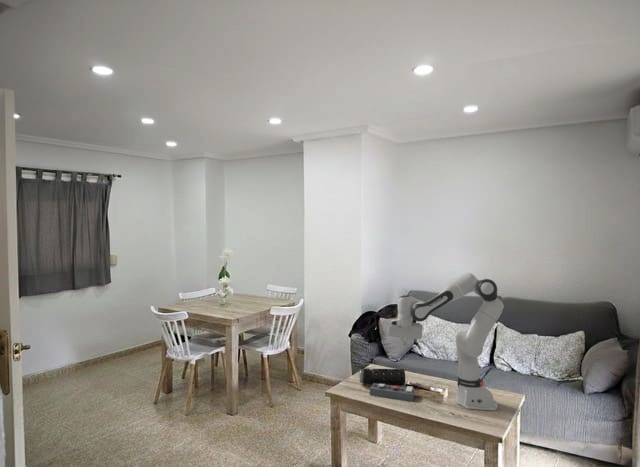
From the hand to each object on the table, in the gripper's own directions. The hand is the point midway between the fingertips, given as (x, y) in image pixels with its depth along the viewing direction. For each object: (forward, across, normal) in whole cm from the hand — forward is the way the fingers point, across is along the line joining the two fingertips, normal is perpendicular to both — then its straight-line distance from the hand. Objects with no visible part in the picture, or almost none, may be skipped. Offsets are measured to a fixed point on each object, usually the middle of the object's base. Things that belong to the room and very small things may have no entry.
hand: (405, 344), depth 249 cm
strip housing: (+29, +7, +7) cm, 30 cm away
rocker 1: (+24, +13, +7) cm, 28 cm away
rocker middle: (+24, +5, +7) cm, 25 cm away
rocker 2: (+24, -4, +7) cm, 25 cm away
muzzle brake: (+29, +16, -7) cm, 34 cm away
